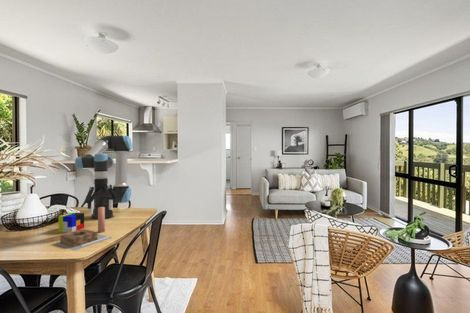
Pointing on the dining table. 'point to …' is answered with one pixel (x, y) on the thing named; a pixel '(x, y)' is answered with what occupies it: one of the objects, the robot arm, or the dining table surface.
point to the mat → (83, 244)
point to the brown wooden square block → (78, 237)
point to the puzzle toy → (71, 222)
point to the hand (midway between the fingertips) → (101, 211)
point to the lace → (94, 241)
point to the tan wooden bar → (101, 219)
